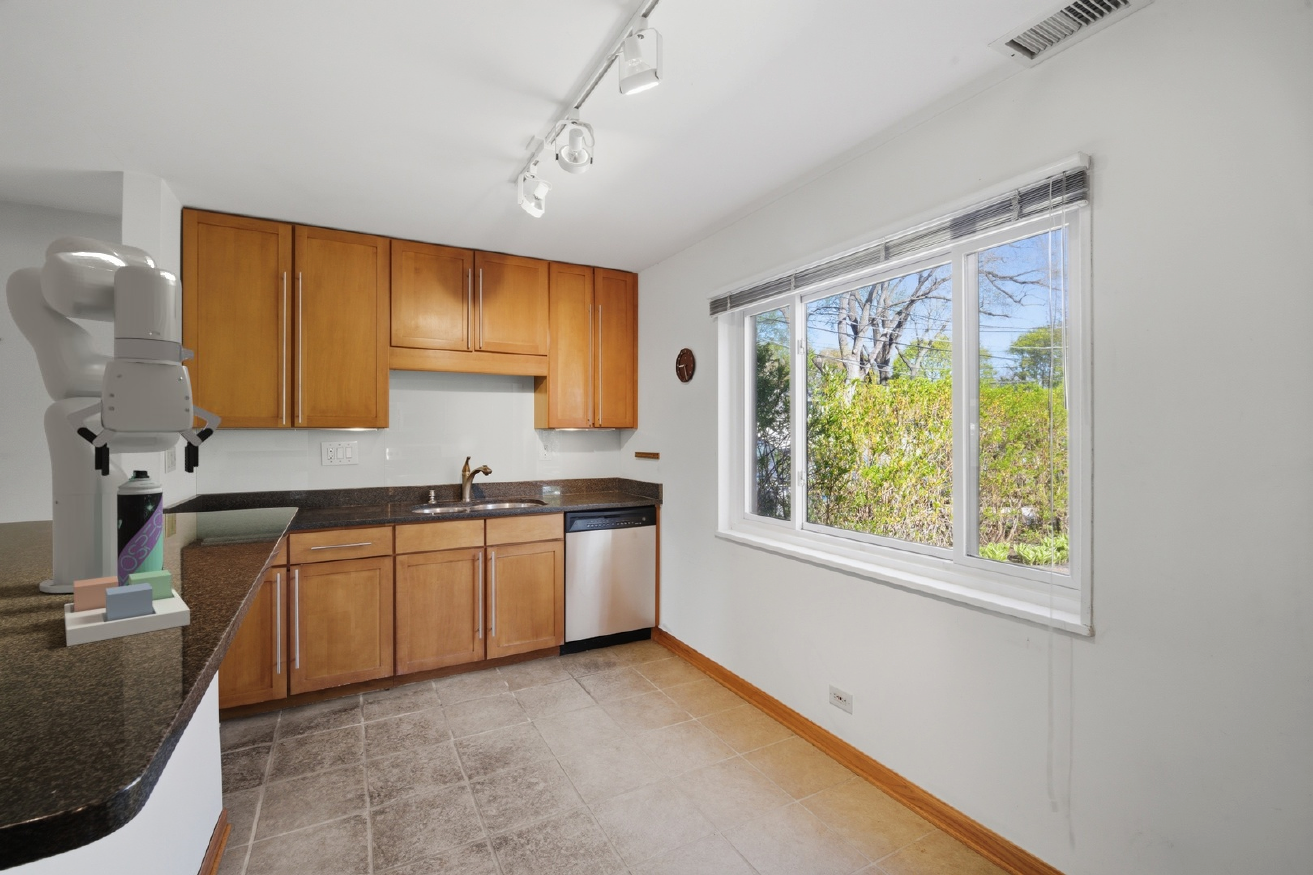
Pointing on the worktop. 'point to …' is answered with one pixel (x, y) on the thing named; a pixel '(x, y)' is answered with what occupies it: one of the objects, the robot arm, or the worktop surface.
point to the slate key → (128, 601)
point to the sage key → (155, 583)
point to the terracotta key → (92, 593)
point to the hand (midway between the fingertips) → (148, 473)
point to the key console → (123, 621)
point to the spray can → (139, 527)
